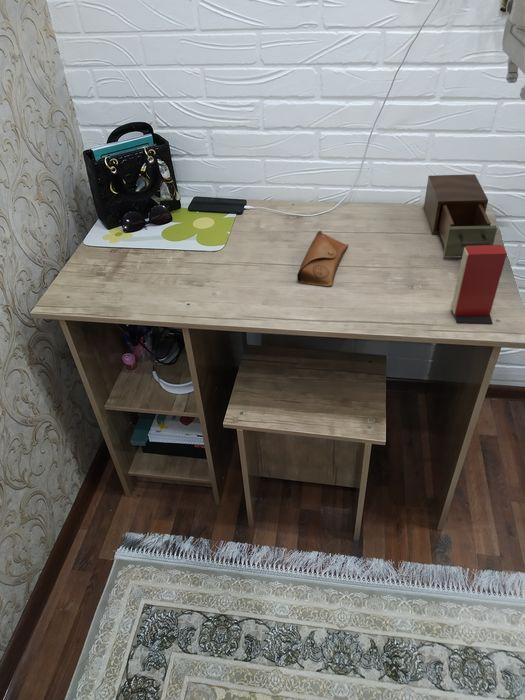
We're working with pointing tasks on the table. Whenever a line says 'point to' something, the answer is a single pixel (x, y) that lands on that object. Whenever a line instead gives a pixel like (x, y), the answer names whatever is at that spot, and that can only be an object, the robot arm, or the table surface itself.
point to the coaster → (474, 319)
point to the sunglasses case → (321, 261)
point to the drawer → (464, 227)
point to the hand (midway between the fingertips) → (517, 89)
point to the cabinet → (451, 195)
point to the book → (478, 280)
